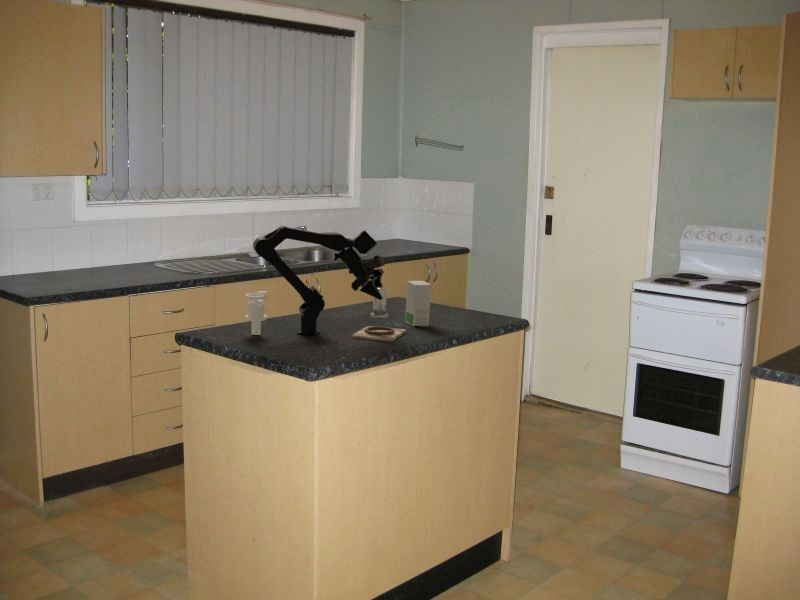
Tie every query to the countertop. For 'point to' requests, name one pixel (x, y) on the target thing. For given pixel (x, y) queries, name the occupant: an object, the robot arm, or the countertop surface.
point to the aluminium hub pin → (380, 304)
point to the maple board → (379, 333)
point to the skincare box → (418, 303)
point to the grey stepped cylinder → (256, 310)
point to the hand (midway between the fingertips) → (383, 298)
